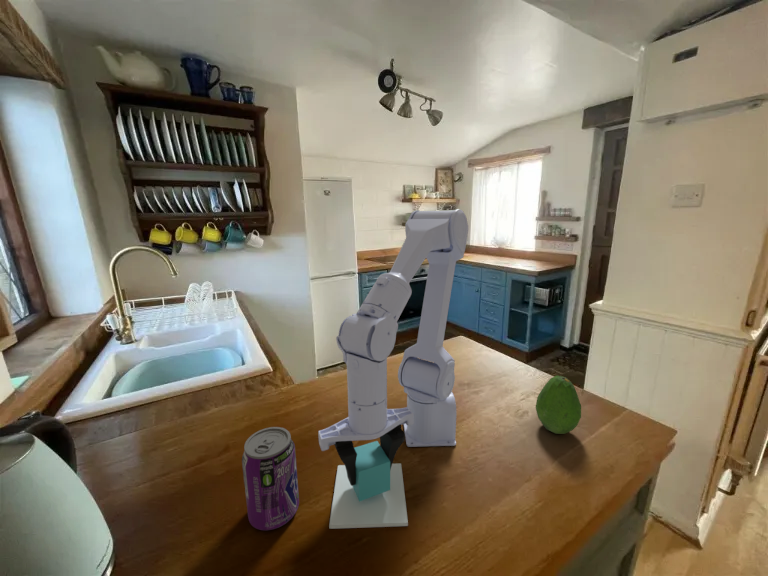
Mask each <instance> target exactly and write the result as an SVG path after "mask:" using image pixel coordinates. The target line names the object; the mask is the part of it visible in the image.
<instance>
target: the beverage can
mask: <svg viewBox="0 0 768 576" xmlns="http://www.w3.org/2000/svg"><path fill="white" fill-rule="evenodd" d="M291 436H292V435H291V432H290V431H289V430H287V429H286V428H285V427H280V426H270V427H266V428H263V429H259V430H258V431H256V432H254V433H253V434H251V435H250V436H249V437H248V438H247V439H246V441H245V442H244V447H243V449H244V451H243V454H242V456H241V457H242V458H241V464H242V465H241V466H242V473H243V484H244V488H245V489H244V493H245V500H246V501H245V502H246V507H247V508H246V509H247V517H248V518H247V519H248V521H249V524H250V525H251V526H252V528H255V529H257V530H260V531H272V530H275V529H278V528H280V527H282V526H284V525H286V524H287V523H288V522H289V521H290V520H291V519H292V518H293V517H294V516H295V514H296V513H297V511H298V509H299V507H300V506H299V505H300V494H299V483H298V468H297V458H296V457H297V456H296V445H295V443H294V441H293V440H292V437H291Z"/></svg>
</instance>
